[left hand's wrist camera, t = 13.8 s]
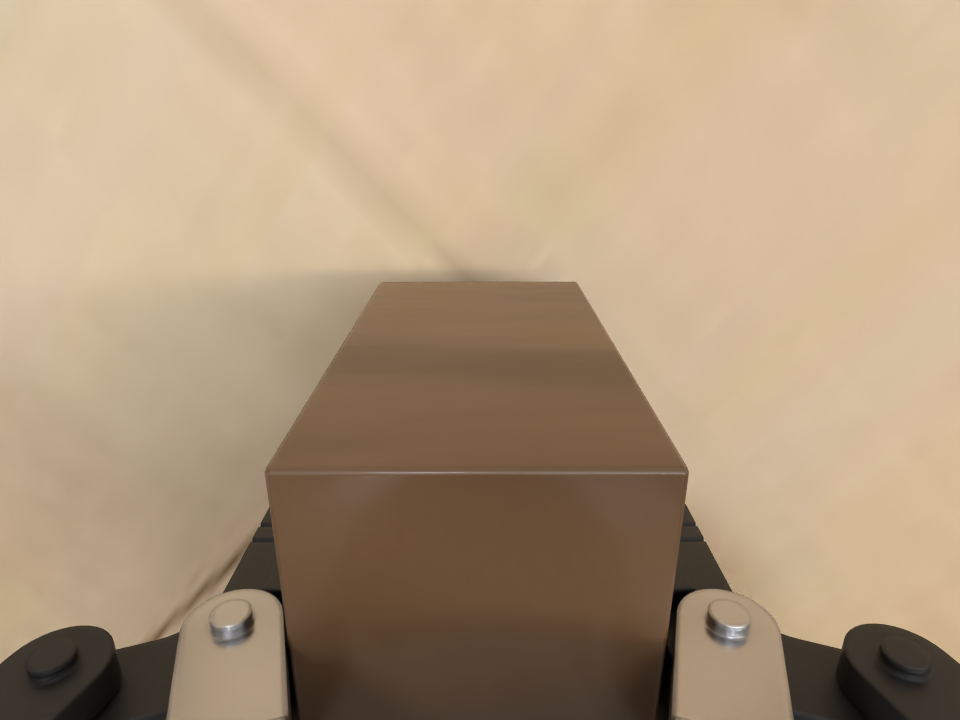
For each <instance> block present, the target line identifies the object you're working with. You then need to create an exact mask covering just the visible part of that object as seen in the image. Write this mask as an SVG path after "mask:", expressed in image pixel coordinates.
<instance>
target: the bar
mask: <svg viewBox="0 0 960 720" xmlns="http://www.w3.org/2000/svg"><path fill="white" fill-rule="evenodd" d="M688 475H689V471H688V468H687V466H686V464H685V463H684V461H683V459H682V458H681V456H680V454H679V453H678V451H677V449H676V448H675V446H674V444H673V443H672V441H671V439H670V438H669V436H668V434H667V433H666V431H665V429H664V428H663V426H662V424H661V423H660V421H659V419H658V418H657V416H656V414H655V413H654V411H653V409H652V408H651V406H650V404H649V403H648V401H647V399H646V397H645V396H644V394H643V392H642V391H641V389H640V387H639V386H638V384H637V382H636V381H635V379H634V377H633V376H632V374H631V372H630V371H629V369H628V367H627V366H626V364H625V362H624V361H623V359H622V357H621V356H620V354H619V352H618V351H617V349H616V347H615V346H614V344H613V342H612V341H611V339H610V337H609V336H608V334H607V332H606V331H605V329H604V327H603V326H602V324H601V322H600V320H599V319H598V317H597V315H596V314H595V312H594V310H593V309H592V307H591V305H590V304H589V302H588V300H587V299H586V297H585V295H584V294H583V292H582V290H581V289H580V287H579V285H578V284H577V283H576V282H382V283H380V285H379V286H378V288H377V289H376V291H375V293H374V294H373V296H372V298H371V299H370V301H369V302H368V304H367V306H366V307H365V309H364V310H363V312H362V314H361V315H360V317H359V319H358V320H357V322H356V323H355V325H354V327H353V328H352V330H351V332H350V333H349V335H348V336H347V338H346V340H345V341H344V343H343V345H342V346H341V348H340V349H339V351H338V353H337V354H336V356H335V358H334V359H333V361H332V362H331V364H330V366H329V367H328V369H327V370H326V372H325V374H324V375H323V377H322V379H321V380H320V382H319V383H318V385H317V387H316V388H315V390H314V392H313V393H312V395H311V396H310V398H309V400H308V401H307V403H306V405H305V406H304V408H303V409H302V411H301V413H300V414H299V416H298V418H297V419H296V421H295V422H294V424H293V426H292V427H291V429H290V430H289V432H288V434H287V435H286V437H285V439H284V440H283V442H282V443H281V445H280V447H279V448H278V450H277V452H276V453H275V455H274V456H273V458H272V460H271V461H270V463H269V465H268V466H267V468H266V471H265V477H266V484H267V491H268V499H269V506H270V513H271V520H272V528H273V535H274V542H275V549H276V557H277V564H278V571H279V578H280V586H281V593H282V600H283V607H284V615H285V622H286V629H287V636H288V644H289V651H290V658H291V665H292V672H293V680H294V687H295V694H296V701H297V709H298V716H299V720H657V712H658V705H659V697H660V689H661V682H662V674H663V666H664V659H665V651H666V643H667V636H668V628H669V620H670V613H671V605H672V597H673V590H674V582H675V574H676V567H677V559H678V551H679V544H680V536H681V528H682V521H683V513H684V505H685V498H686V490H687V482H688Z"/></svg>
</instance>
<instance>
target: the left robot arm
mask: <svg viewBox="0 0 960 720" xmlns="http://www.w3.org/2000/svg"><path fill="white" fill-rule="evenodd" d="M0 720H299V716H298V709H297V701H296V694H295V687H294V680H293V672H292V665H291V658H290V651H289V644H288V636H287V629H286V622H285V615H284V607H283V600H282V593H281V586H280V578H279V571H278V564H277V557H276V549H275V542H274V535H273V528H272V520H271V513H270V507H269V509H268V511H267V513H266V515H265V517H264V518H263V520H262V522H261V527H259V528H258V529H257V531H256V533H255V535H254V537H253V541H252V542H250V544H249V546H248V548H247V550H246V552H245V553H244V555H243V557H242V559H241V561H240V563H239V565H238V566H237V568H236V570H235V572H234V574H233V576H232V577H231V579H230V581H229V583H228V585H227V587H226V588H225V590H224V592H223V594H220V595H218V596H215V597H213V598H211V599H209V600H207V601H206V602H204V603H203V604H201V605H200V606H198V607H197V608H196V609H195V610H194V611H193V612H192V613H191V614H190V615H189V616H188V617H187V618H186V620H185V621H184V623H183V625H182V627H181V629H180V632H179V633H177V634H174V635H171V636H169V637H166V638H162V639H159V640H155V641H151V642H147V643H142V644H138V645H134V646H130V647H126V648H121V649H117V650H116V649H115V645H114V641H113V639H112V636H111V635H110V634H109V633H108V632H107V631H105V630H104V629H101V628H99V627H94V626H74V627H68V628H64V629H60V630H57V631H53V632H51V633H48V634H46V635H43V636H41V637H39V638H37V639H35V640H33V641H31V642H29V643H28V644H26V645H25V646H23V647H21V648H20V649H19V650H17V651H16V652H15V653H13V654H12V655H11V656H10V657H8V658H7V659H6V660H5V661H3V662H2V663H1V664H0ZM657 720H960V664H959V663H958V662H957V661H955V660H954V659H953V658H952V657H950V656H949V655H948V654H947V653H946V652H944V651H943V650H942V649H940V648H939V647H938V646H936V645H935V644H933V643H931V642H930V641H928V640H926V639H925V638H923V637H921V636H919V635H917V634H914V633H912V632H909V631H907V630H904V629H901V628H898V627H894V626H889V625H884V624H864V625H859V626H857V627H854V628H853V629H851V630H849V632H848V633H847V634H846V636H845V639H844V642H843V646H842V649H838V648H834V647H830V646H825V645H821V644H817V643H813V642H809V641H804V640H800V639H796V638H793V637H789V636H786V635H784V634H781V633H780V629H779V627H778V625H777V623H776V621H775V620H774V618H773V617H772V616H771V615H770V614H769V613H768V612H767V611H766V610H765V609H764V608H763V607H762V606H760V605H759V604H757V603H756V602H754V601H753V600H751V599H749V598H747V597H745V596H742V595H740V594H737V593H734V592H732V590H731V588H730V587H729V585H728V583H727V581H726V579H725V577H724V575H723V573H722V572H721V570H720V568H719V566H718V564H717V562H716V560H715V558H714V557H713V555H712V553H711V551H710V549H709V547H708V545H707V543H706V542H704V540H703V536H702V534H701V532H700V530H699V528H698V527H697V526H696V525H695V521H694V519H693V517H692V515H691V513H690V512H689V510H688V508H687V506H686V504H685V505H684V513H683V521H682V528H681V536H680V544H679V551H678V559H677V567H676V574H675V582H674V590H673V597H672V605H671V613H670V620H669V628H668V636H667V643H666V651H665V659H664V666H663V674H662V682H661V689H660V697H659V705H658V712H657Z"/></svg>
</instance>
